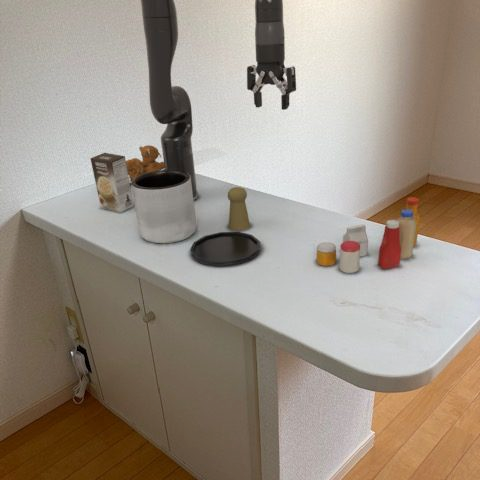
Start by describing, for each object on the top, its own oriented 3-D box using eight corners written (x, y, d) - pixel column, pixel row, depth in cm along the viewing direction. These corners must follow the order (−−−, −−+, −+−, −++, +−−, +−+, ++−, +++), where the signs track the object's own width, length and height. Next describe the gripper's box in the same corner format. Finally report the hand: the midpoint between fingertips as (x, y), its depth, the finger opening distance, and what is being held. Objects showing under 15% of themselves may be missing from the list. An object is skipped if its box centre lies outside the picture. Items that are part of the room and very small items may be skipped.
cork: (242, 232, 142) (240, 193, 136) (224, 228, 145) (221, 190, 139) (253, 224, 146) (252, 186, 140) (236, 220, 149) (233, 183, 143)
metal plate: (176, 256, 132) (175, 251, 131) (220, 231, 144) (219, 226, 143) (232, 273, 123) (232, 268, 122) (274, 244, 134) (274, 239, 134)
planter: (128, 240, 142) (117, 185, 134) (161, 218, 154) (153, 167, 145) (176, 249, 136) (168, 192, 127) (208, 226, 147) (202, 172, 139)
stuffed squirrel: (172, 184, 180) (167, 146, 172) (134, 193, 174) (127, 154, 167) (161, 177, 187) (155, 140, 180) (124, 186, 182) (117, 148, 174)
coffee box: (99, 208, 164) (88, 158, 156) (114, 201, 169) (103, 152, 160) (121, 213, 160) (110, 161, 151) (134, 206, 165) (125, 155, 156)
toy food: (409, 239, 132) (415, 193, 125) (437, 260, 121) (444, 212, 115) (310, 256, 128) (311, 209, 121) (330, 279, 117) (332, 230, 111)
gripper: (239, 43, 134) (242, 109, 143) (285, 43, 127) (286, 113, 136) (255, 39, 139) (258, 103, 148) (301, 39, 132) (301, 107, 140)
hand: (271, 108), depth 142 cm, fingers open, 8 cm apart
